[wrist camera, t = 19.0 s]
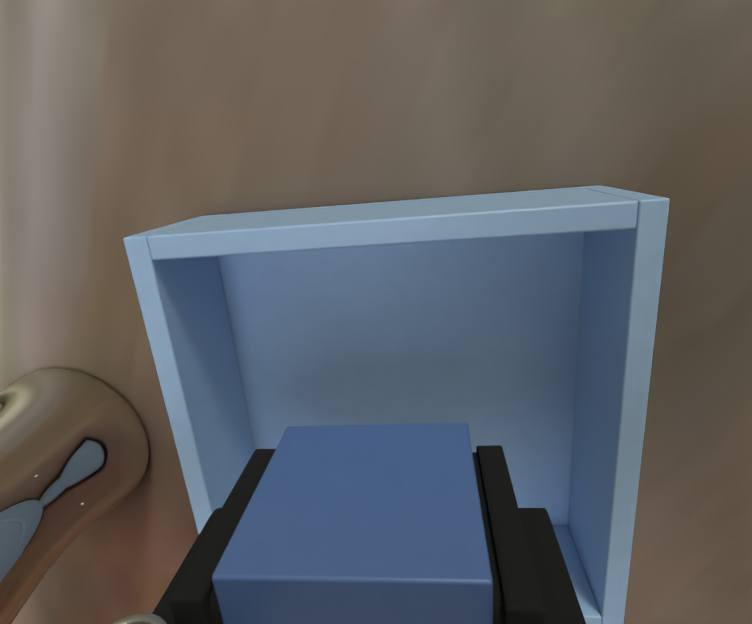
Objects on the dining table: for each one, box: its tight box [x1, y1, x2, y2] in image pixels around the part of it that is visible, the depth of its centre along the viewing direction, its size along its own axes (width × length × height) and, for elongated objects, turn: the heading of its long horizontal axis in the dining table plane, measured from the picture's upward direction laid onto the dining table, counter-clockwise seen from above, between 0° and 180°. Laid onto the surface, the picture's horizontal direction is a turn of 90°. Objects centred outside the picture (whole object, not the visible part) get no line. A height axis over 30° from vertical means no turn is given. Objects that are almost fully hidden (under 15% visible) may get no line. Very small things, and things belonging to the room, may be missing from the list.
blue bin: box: [123, 185, 670, 624], centre depth 14 cm, size 12×12×4 cm
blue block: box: [212, 423, 493, 624], centre depth 9 cm, size 4×4×4 cm
